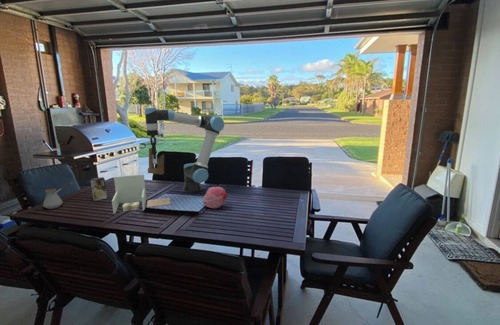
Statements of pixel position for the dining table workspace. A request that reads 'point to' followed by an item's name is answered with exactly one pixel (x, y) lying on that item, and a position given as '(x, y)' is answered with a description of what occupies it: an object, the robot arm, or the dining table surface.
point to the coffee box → (98, 188)
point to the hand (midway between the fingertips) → (155, 162)
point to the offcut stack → (131, 206)
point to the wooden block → (159, 161)
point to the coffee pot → (53, 198)
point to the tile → (158, 202)
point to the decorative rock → (214, 197)
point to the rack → (129, 190)
